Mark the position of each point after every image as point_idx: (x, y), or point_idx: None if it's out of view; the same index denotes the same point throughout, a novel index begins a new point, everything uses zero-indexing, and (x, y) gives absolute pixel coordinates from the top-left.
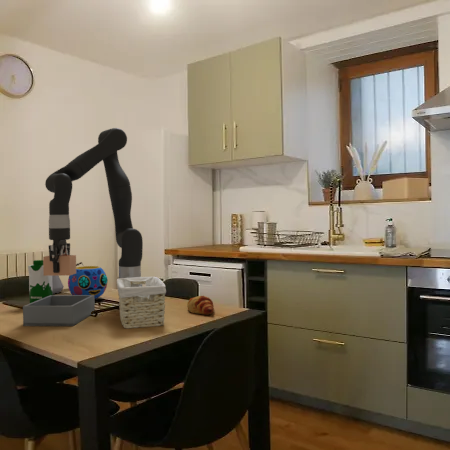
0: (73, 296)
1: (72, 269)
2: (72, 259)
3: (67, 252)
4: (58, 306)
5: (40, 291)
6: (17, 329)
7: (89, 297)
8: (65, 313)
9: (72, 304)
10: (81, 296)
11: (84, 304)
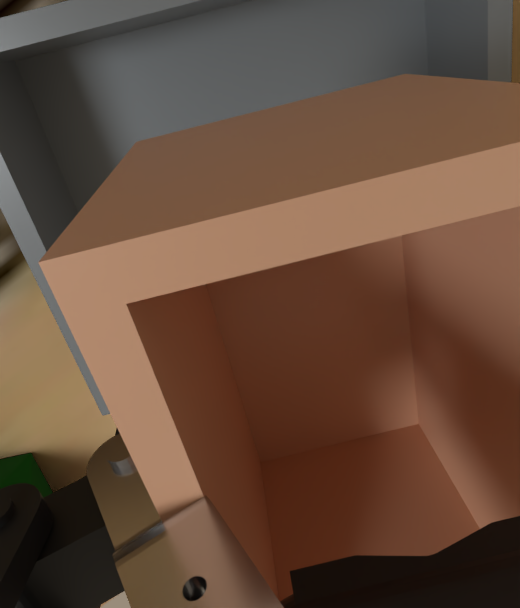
0: (42, 238)
1: (314, 108)
2: (365, 144)
3: (158, 583)
4: (511, 43)
5: None
6: None
7: (53, 10)
8: None
9: (66, 225)
10: (9, 165)
11: None
